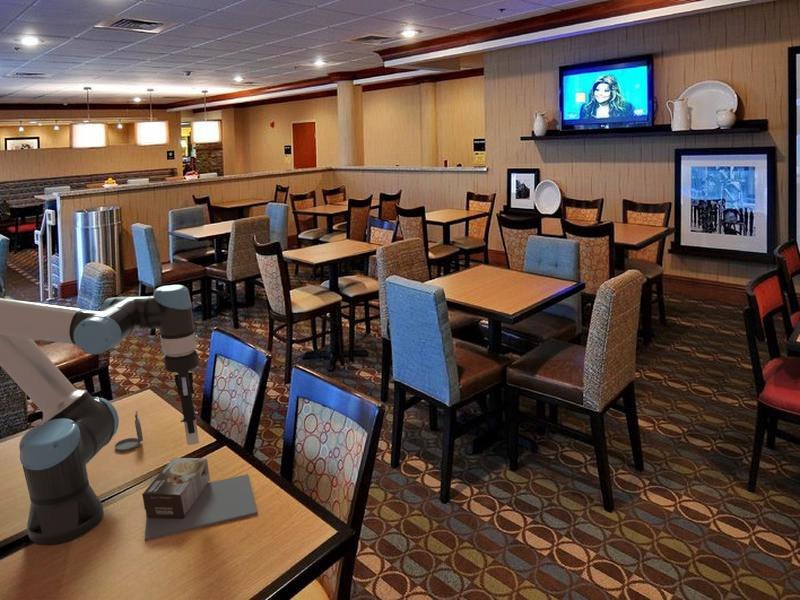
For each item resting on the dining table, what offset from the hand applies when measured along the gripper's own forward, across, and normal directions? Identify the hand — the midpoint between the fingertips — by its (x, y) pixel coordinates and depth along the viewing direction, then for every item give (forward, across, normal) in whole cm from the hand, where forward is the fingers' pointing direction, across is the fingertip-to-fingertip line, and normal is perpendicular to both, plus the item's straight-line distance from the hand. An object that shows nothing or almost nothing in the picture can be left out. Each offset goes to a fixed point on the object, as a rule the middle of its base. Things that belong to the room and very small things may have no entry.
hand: (193, 442), depth 146 cm
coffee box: (+9, +4, +1) cm, 9 cm away
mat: (+12, -8, 0) cm, 15 cm away
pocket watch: (+13, +31, +17) cm, 38 cm away
